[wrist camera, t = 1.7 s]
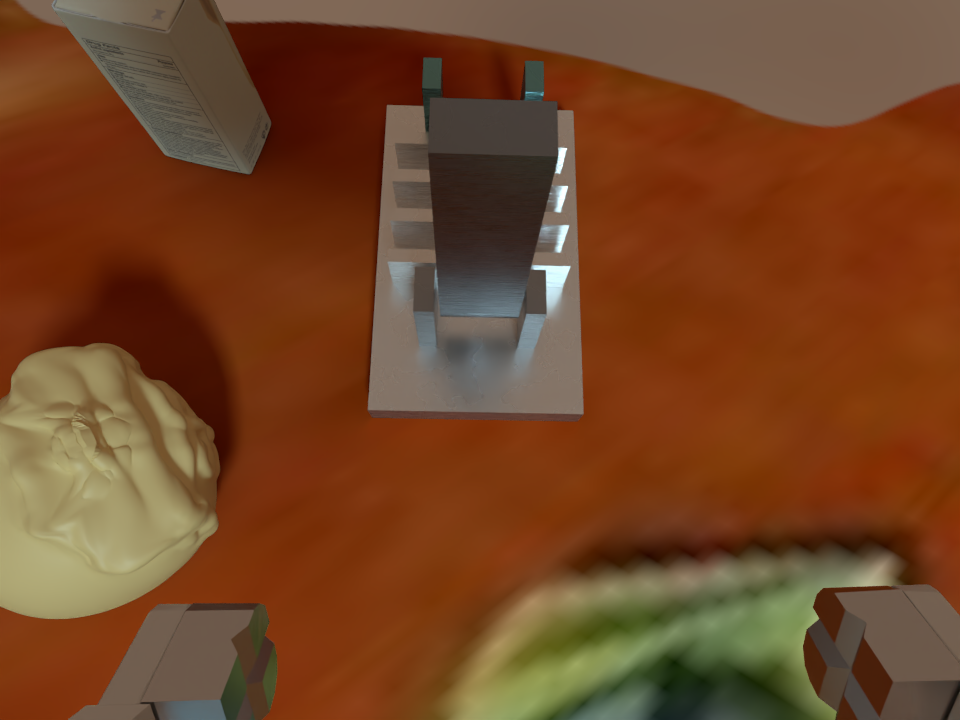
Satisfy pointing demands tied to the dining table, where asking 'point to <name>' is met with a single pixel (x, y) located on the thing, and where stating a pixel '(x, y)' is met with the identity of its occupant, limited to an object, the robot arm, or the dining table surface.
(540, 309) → the grey dish rack
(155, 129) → the skincare box
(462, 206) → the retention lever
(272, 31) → the dining table surface
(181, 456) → the sculpture
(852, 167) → the dining table surface
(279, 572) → the dining table surface
